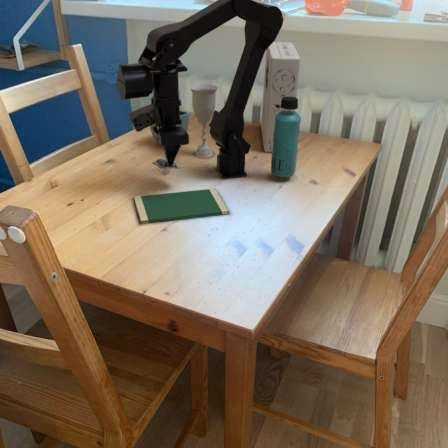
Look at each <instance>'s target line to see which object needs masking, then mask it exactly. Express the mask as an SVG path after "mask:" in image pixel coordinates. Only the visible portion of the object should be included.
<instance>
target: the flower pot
mask: <svg viewBox="0 0 448 448" xmlns="http://www.w3.org/2000/svg"><path fill="white" fill-rule="evenodd" d="M180 118H181V120H182V124H178V125H176V126H177V127H179V126H182V127H183V128H184V129H185V130H186V131H187V132H188V129H189V121H190V112H188V111H185V110H181V109H180ZM153 127H156V126H155V123H154V124H153V125H151V126H149V129H150V132H151V135H152V137H153V139H154V140H155V142H156V143H157V144H158V145H160V146H161V144H160V142H159V140H158V138H157V137H159V135H157V134H156V133H155V132H154V130H153Z"/></svg>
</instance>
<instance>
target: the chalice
mask: <svg viewBox="0 0 448 448" xmlns="http://www.w3.org/2000/svg"><path fill="white" fill-rule="evenodd" d="M218 88H219V87H218V86H217V85H215V84H212V83H211V84H210V83H198V84H193V85H191V86H189V89H190V91H191V96H192V97H191V99H192V102H191V103H192V107H191V108H192V109H193V113H194V116H195V117H196V119H197V122H198V123H200V124H201V130H200V131H201V133H202V134H201V137H200V138H201V140H202V141H201V142H202V143H201V144H200V145H198V146H197V149H196V152H195V154H194V155H195V156H196V157H198V158H202V159H203V158H204V159H206V158H211V157H213V156H214V153H213V150H212V148H211V146H210V145H209V144H208V143H207V139H208V136H207V132H208V129H207V124H210V122H211V120H212V117H213V113H214V111H215V110H216V98H217V97H216V96H217V95H216V93H217V90H218Z"/></svg>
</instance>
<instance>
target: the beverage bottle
mask: <svg viewBox="0 0 448 448" xmlns="http://www.w3.org/2000/svg"><path fill="white" fill-rule="evenodd" d="M280 107H281V108H283V109H288V110H284V111H281V112H279V113H278V114H277V115H276V116H275V130H274V136H273V137H274V138H273V139H274V141H273V148H272V149H273V152H271V157H270V158H271V159H270V171H271V174H272V175H274V176H275V177H281V178H289V177H291V176H294V175H295V172H296V170H297V169H296V167H297V161H298V159H297V158H298V152H299V150H298V148H299V145H298V144H299V137H300V129H301V121H302V117H301V115H300V114H299V113H298V112H297V111H296V110H297V109H299V99H298V97H297V98H295V97H283V98H282V101H281V106H280ZM294 109H295V111H291V110H294Z"/></svg>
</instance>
